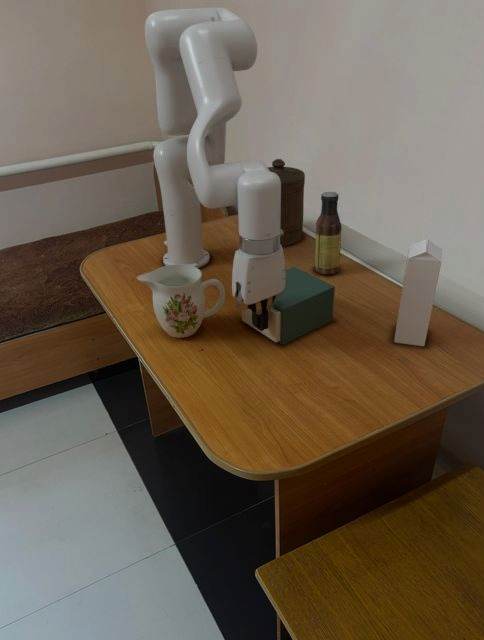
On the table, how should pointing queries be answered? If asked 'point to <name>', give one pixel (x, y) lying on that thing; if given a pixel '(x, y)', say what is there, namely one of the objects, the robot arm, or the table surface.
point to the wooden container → (290, 201)
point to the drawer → (273, 323)
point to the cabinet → (303, 304)
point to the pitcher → (180, 298)
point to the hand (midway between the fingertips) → (260, 326)
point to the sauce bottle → (328, 236)
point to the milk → (418, 292)
